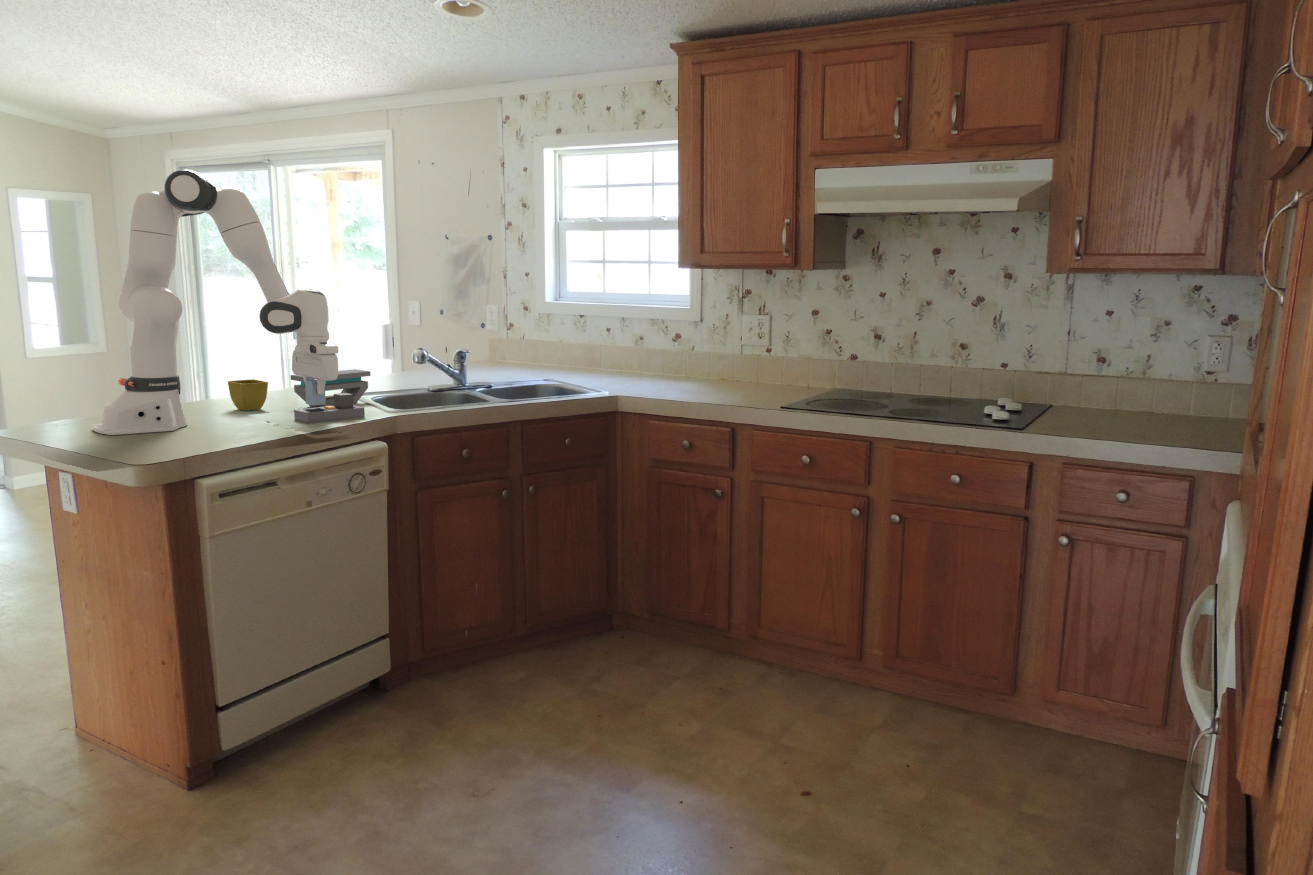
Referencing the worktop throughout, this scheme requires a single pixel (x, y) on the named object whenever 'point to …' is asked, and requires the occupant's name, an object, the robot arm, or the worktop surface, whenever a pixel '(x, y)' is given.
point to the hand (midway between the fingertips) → (315, 392)
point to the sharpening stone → (338, 385)
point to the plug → (313, 393)
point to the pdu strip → (328, 414)
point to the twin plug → (343, 400)
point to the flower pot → (248, 393)
